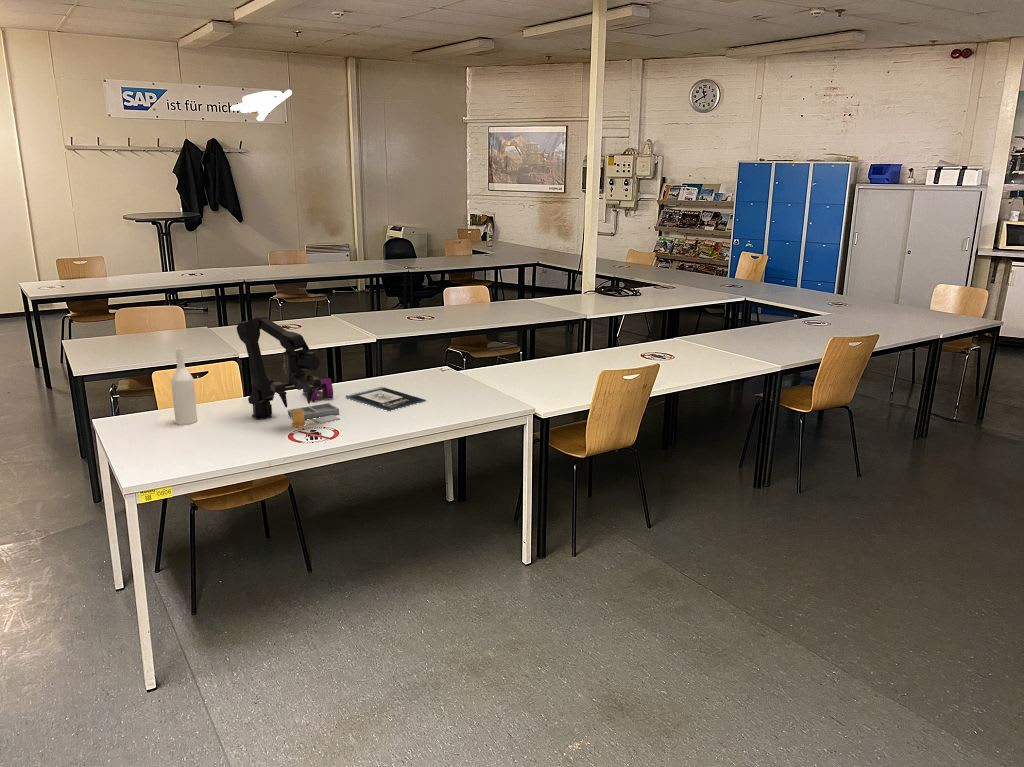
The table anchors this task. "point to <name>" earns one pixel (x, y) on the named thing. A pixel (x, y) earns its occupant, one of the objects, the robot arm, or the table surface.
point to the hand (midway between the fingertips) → (297, 405)
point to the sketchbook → (385, 398)
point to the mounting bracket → (323, 389)
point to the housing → (317, 411)
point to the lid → (326, 419)
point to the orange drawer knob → (298, 417)
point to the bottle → (183, 393)
